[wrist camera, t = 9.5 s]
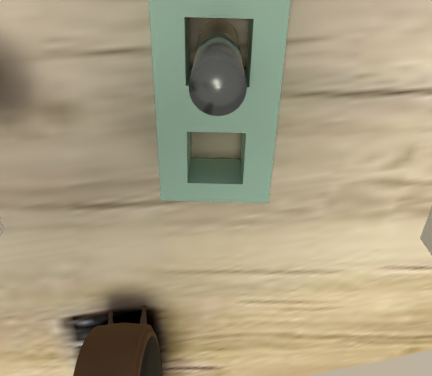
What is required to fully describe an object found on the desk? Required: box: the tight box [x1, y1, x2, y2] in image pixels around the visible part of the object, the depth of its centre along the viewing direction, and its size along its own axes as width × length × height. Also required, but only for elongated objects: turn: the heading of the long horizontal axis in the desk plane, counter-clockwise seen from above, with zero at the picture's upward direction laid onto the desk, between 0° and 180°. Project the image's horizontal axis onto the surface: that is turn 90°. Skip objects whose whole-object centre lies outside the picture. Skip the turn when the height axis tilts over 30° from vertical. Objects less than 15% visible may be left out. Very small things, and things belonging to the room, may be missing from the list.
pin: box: [189, 20, 247, 116], centre depth 26 cm, size 3×3×12 cm
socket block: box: [149, 0, 291, 203], centre depth 31 cm, size 9×16×4 cm, turn 179°
